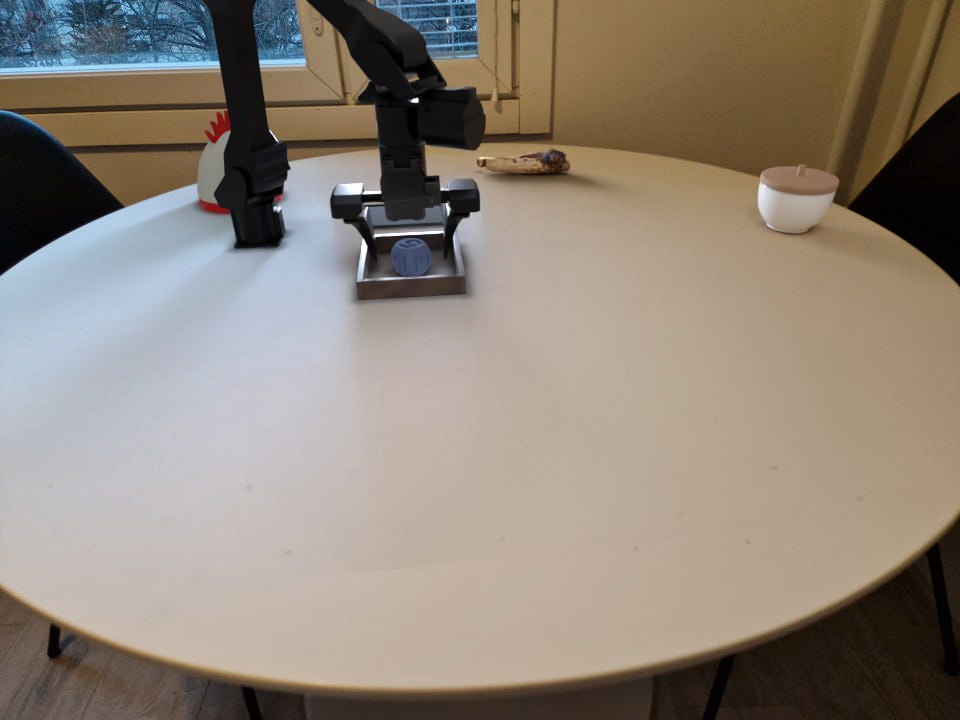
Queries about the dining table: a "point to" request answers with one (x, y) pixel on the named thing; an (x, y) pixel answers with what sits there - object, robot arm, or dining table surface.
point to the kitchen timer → (214, 165)
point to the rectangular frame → (415, 283)
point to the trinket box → (795, 197)
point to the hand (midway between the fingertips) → (410, 259)
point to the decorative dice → (411, 257)
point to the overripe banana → (528, 163)
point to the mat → (381, 221)
